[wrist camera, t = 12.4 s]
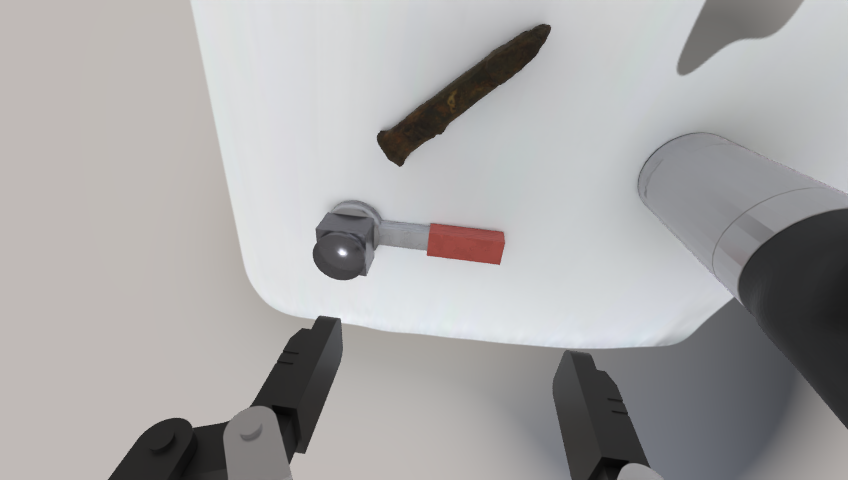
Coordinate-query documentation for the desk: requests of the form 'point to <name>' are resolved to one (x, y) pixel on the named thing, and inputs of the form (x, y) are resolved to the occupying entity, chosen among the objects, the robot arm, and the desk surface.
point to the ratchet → (431, 236)
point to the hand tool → (461, 95)
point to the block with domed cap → (344, 246)
